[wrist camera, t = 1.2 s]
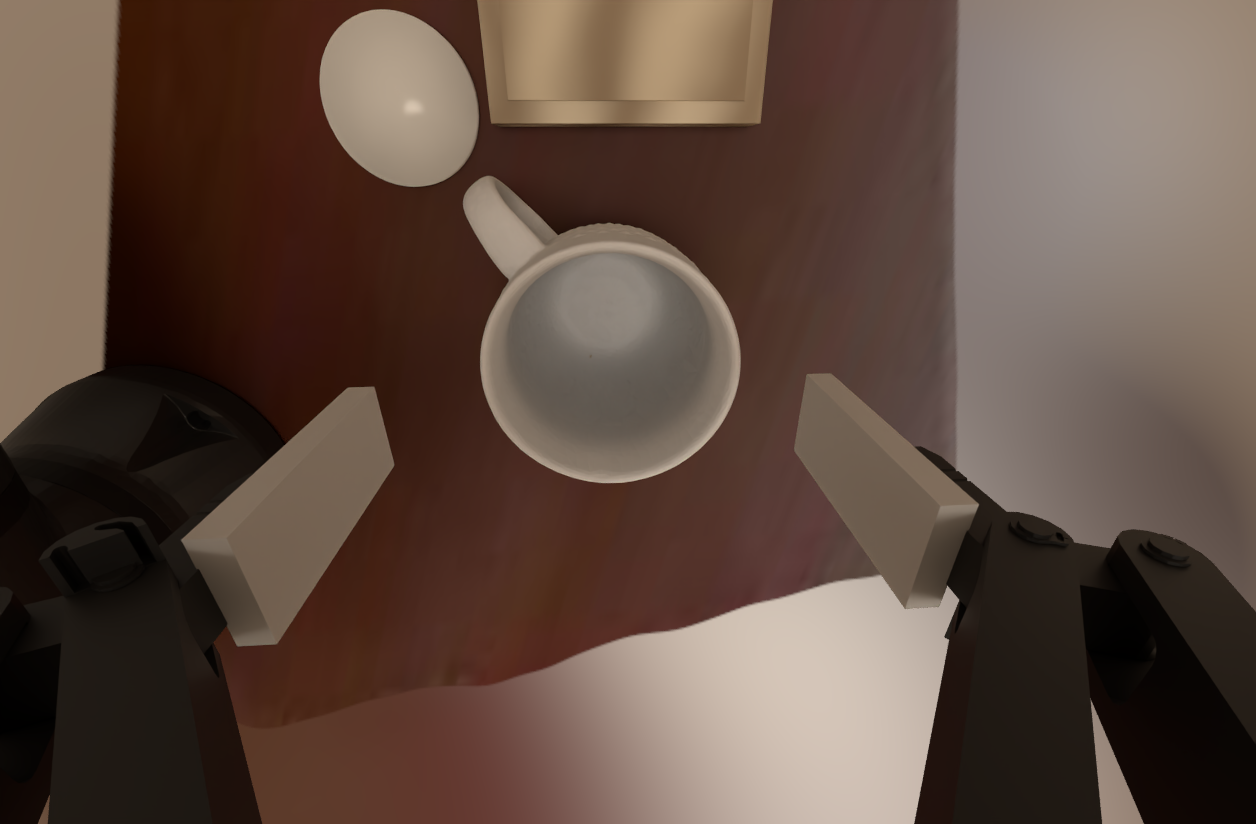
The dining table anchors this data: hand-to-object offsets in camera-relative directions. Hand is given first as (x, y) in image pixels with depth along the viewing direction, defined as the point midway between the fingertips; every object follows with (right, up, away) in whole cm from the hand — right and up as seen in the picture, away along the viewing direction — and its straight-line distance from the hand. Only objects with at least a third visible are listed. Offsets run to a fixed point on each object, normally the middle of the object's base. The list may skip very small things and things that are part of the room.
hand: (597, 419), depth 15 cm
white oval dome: (-11, +17, +12) cm, 24 cm away
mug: (-1, +8, +17) cm, 19 cm away
